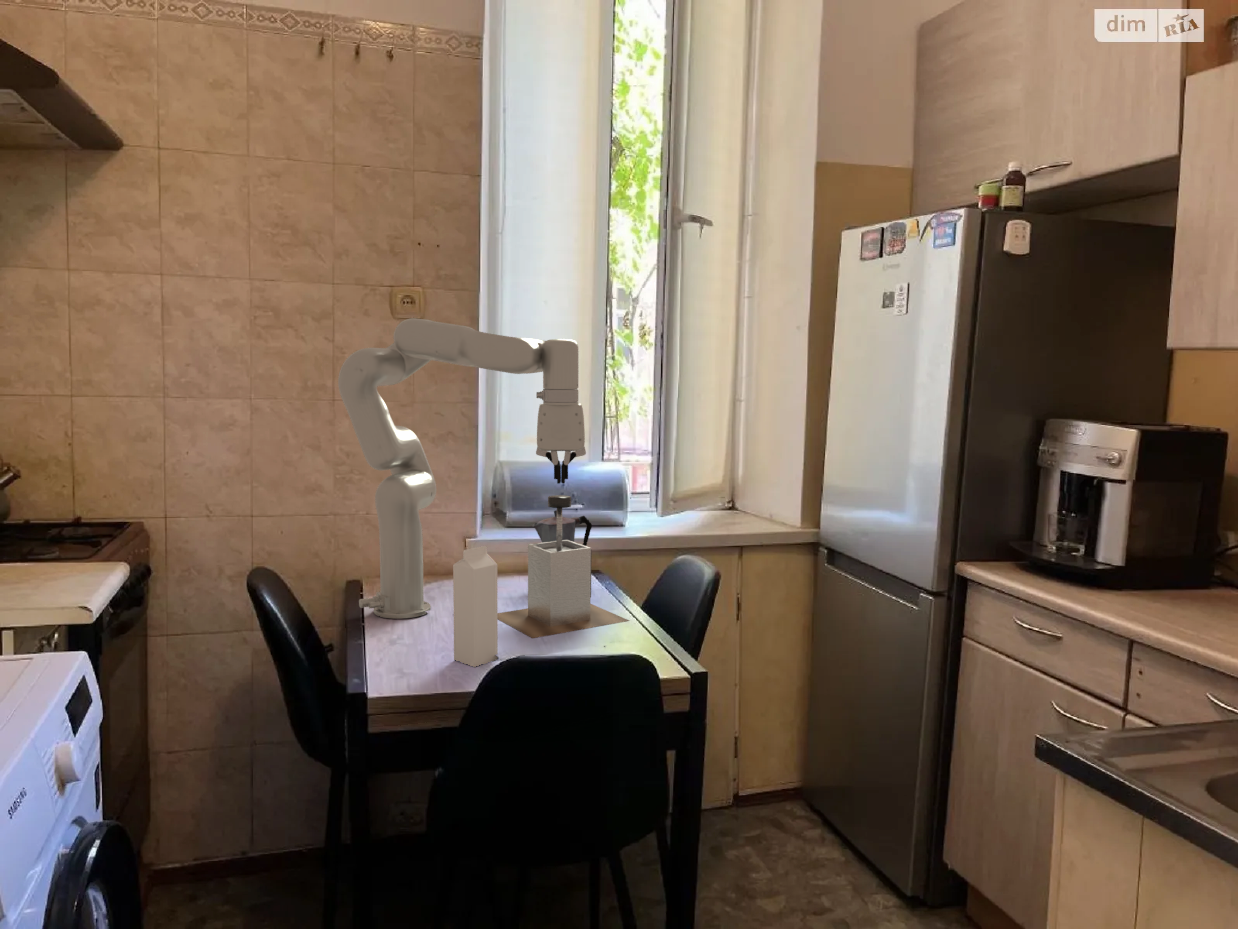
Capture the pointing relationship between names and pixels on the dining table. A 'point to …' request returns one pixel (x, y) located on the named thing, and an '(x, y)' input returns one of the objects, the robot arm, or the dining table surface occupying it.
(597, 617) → the walnut board
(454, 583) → the milk
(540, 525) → the moka pot
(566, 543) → the open box
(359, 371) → the robot arm
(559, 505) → the plunger
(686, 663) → the dining table surface
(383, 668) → the dining table surface
